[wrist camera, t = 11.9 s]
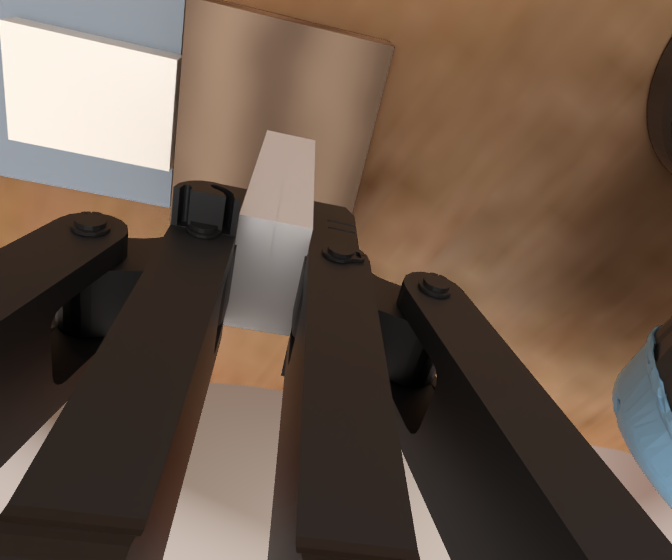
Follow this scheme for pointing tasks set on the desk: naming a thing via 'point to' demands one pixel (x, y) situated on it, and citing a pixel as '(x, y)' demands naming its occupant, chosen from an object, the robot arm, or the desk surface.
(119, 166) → the mat
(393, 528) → the robot arm
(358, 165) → the deck
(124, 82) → the tile
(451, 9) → the desk surface
